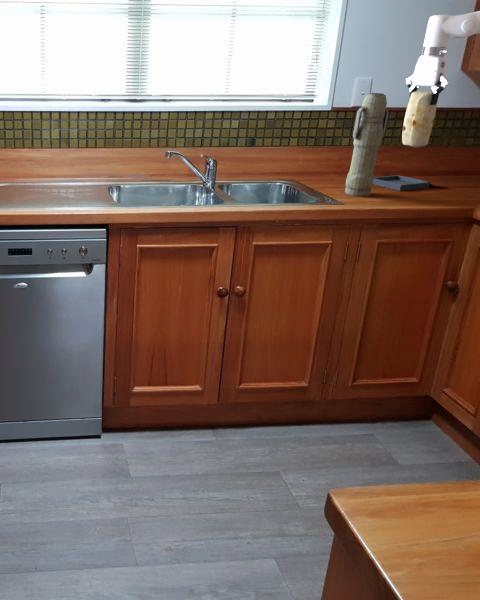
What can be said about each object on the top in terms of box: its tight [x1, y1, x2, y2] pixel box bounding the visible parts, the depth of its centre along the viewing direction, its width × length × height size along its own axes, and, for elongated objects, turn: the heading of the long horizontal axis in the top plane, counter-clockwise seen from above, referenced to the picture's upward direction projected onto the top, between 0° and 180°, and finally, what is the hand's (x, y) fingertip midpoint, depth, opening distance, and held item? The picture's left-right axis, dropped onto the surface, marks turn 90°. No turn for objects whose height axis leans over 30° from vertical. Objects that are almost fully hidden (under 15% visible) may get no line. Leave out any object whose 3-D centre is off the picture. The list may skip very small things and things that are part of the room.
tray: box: [372, 174, 431, 192], centre depth 237 cm, size 15×16×2 cm
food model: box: [401, 89, 438, 148], centre depth 226 cm, size 10×7×20 cm
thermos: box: [344, 92, 390, 198], centre depth 216 cm, size 9×12×35 cm
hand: (422, 103), depth 224 cm, fingers closed on food model, 8 cm apart
